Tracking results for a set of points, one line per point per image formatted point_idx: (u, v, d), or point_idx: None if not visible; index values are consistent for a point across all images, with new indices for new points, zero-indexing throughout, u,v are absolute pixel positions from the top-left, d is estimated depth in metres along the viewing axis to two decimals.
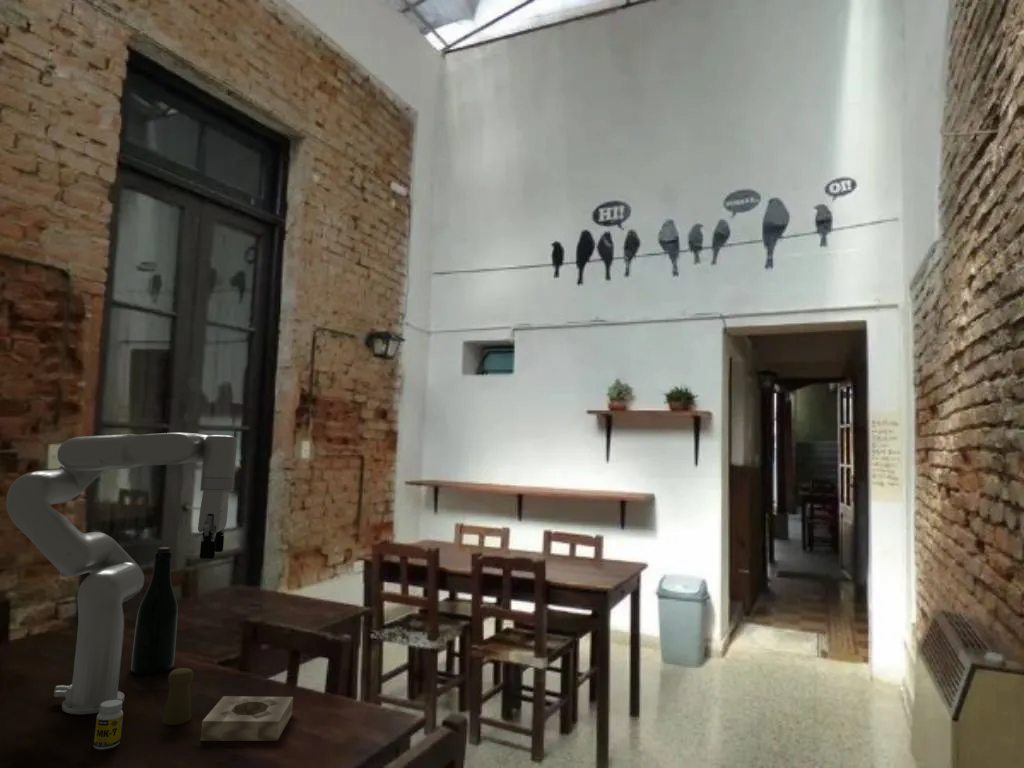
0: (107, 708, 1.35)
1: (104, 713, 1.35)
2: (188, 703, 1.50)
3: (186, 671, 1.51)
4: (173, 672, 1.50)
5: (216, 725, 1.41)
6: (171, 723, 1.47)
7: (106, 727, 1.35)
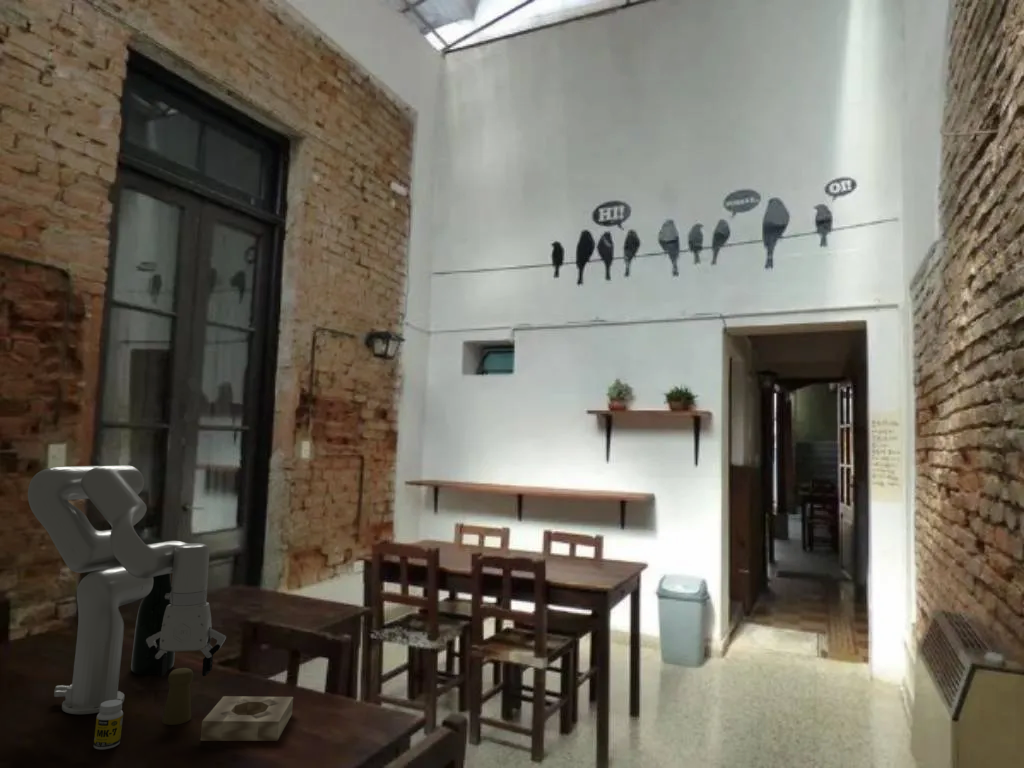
0: (107, 708, 1.35)
1: (104, 713, 1.35)
2: (188, 703, 1.50)
3: (186, 671, 1.51)
4: (173, 672, 1.50)
5: (216, 725, 1.41)
6: (171, 723, 1.47)
7: (106, 727, 1.35)
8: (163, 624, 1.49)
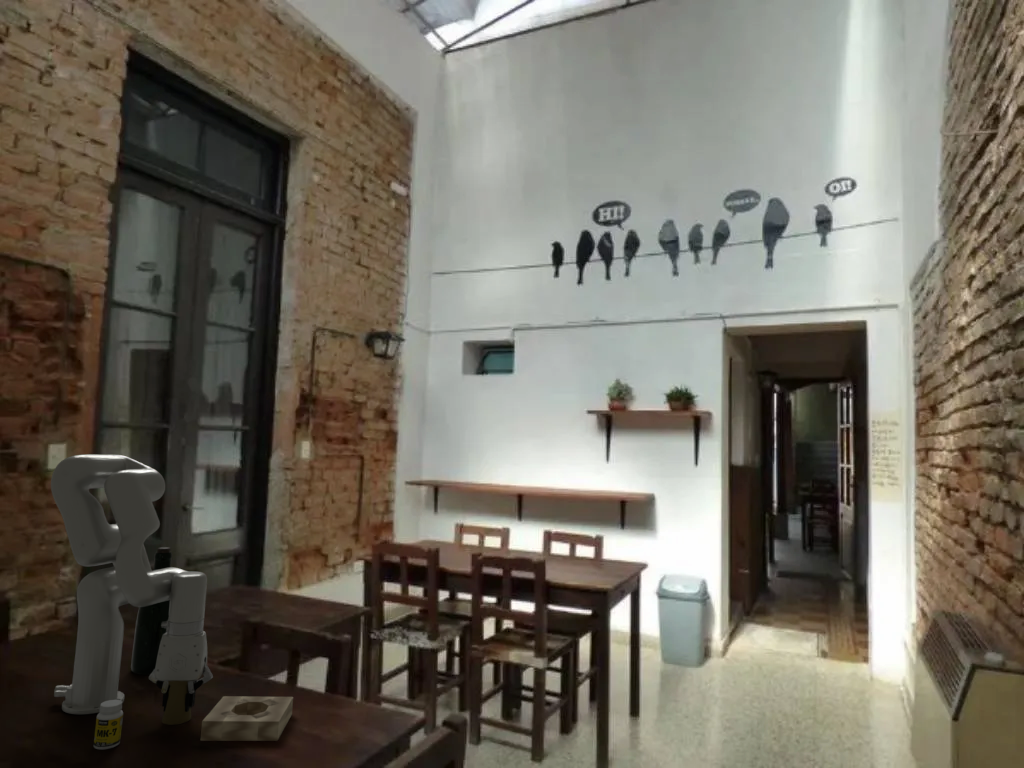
0: (107, 709, 1.35)
1: (104, 713, 1.35)
2: None
3: None
4: None
5: (216, 725, 1.41)
6: (171, 723, 1.47)
7: (106, 727, 1.35)
8: (159, 653, 1.49)
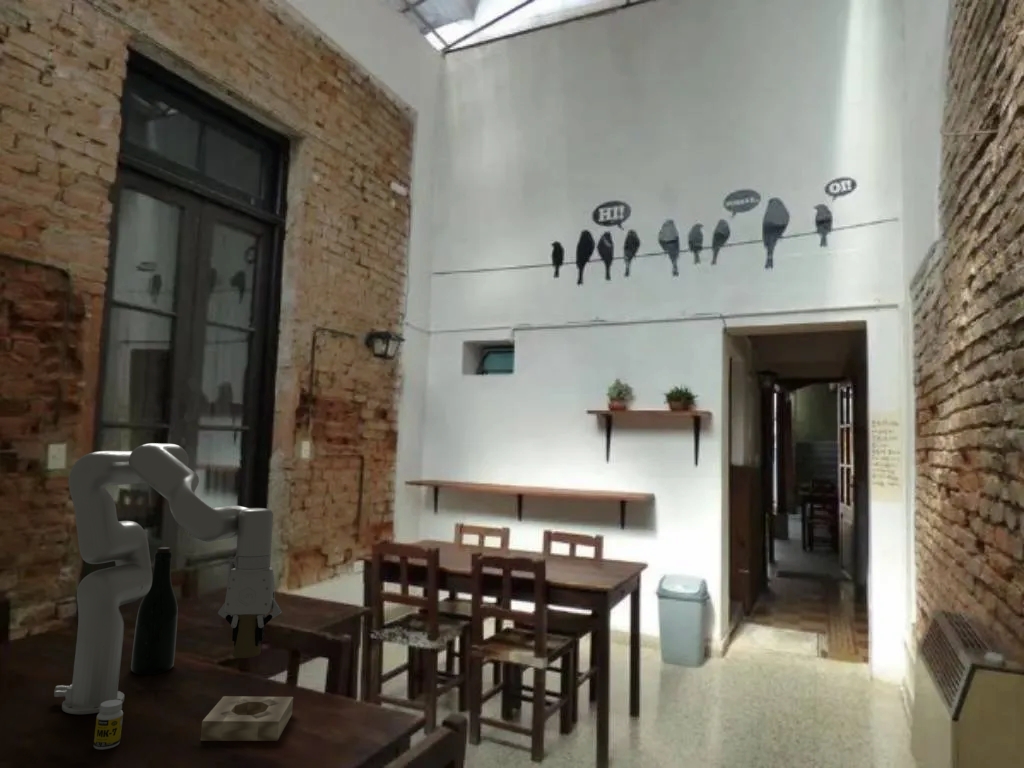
0: (107, 708, 1.35)
1: (104, 713, 1.35)
2: None
3: None
4: None
5: (216, 725, 1.41)
6: (242, 656, 1.47)
7: (106, 727, 1.35)
8: (228, 587, 1.49)
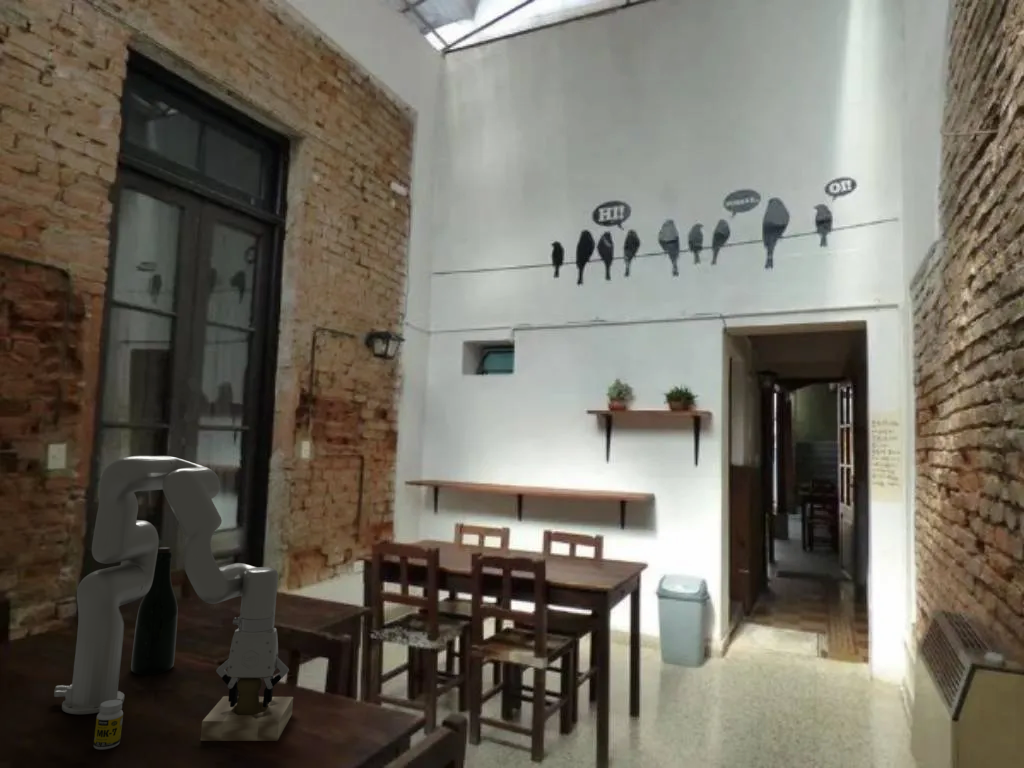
0: (107, 708, 1.35)
1: (104, 713, 1.35)
2: (257, 711, 1.48)
3: (255, 679, 1.48)
4: (242, 679, 1.48)
5: (216, 725, 1.41)
6: None
7: (106, 727, 1.35)
8: (231, 649, 1.47)
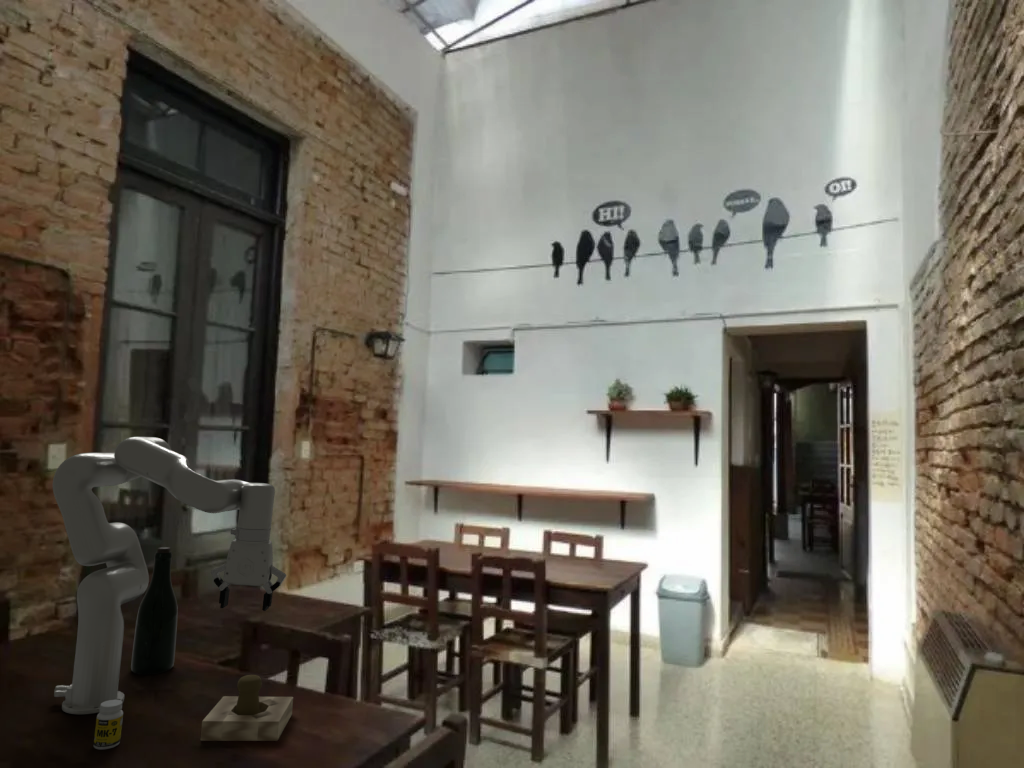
0: (107, 708, 1.35)
1: (104, 713, 1.35)
2: (257, 711, 1.48)
3: (255, 679, 1.48)
4: (242, 679, 1.48)
5: (216, 725, 1.41)
6: None
7: (106, 727, 1.35)
8: (228, 557, 1.54)
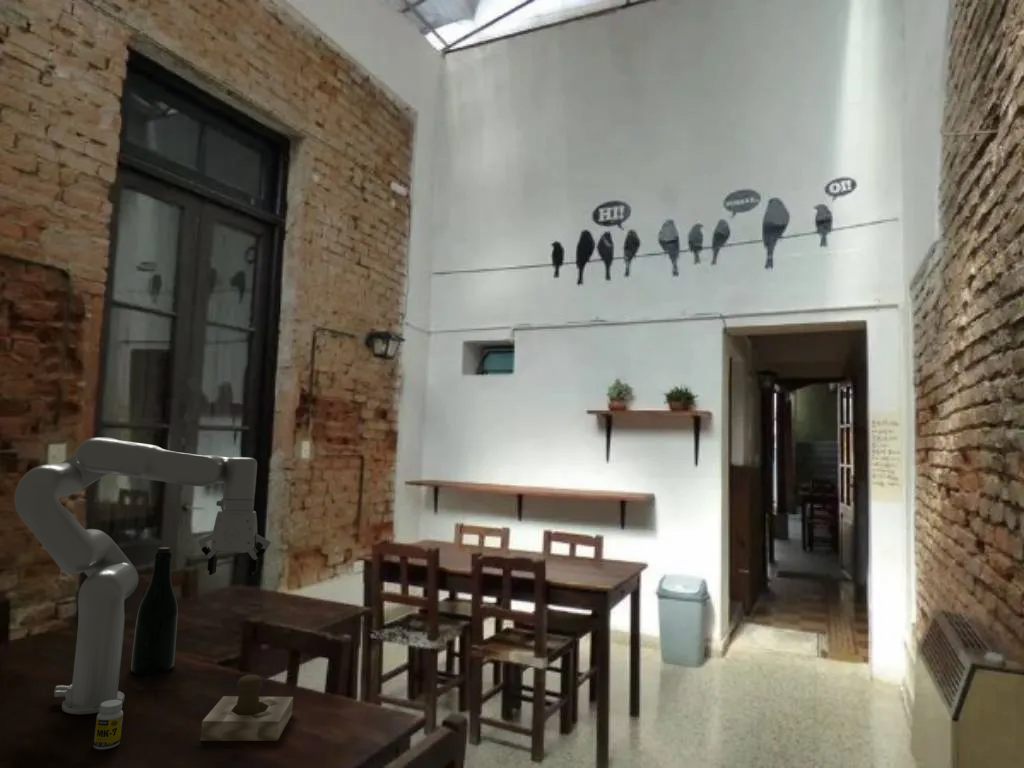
0: (107, 708, 1.35)
1: (104, 713, 1.35)
2: (257, 711, 1.48)
3: (255, 679, 1.48)
4: (242, 679, 1.48)
5: (216, 725, 1.41)
6: None
7: (106, 727, 1.35)
8: (215, 526, 1.64)
